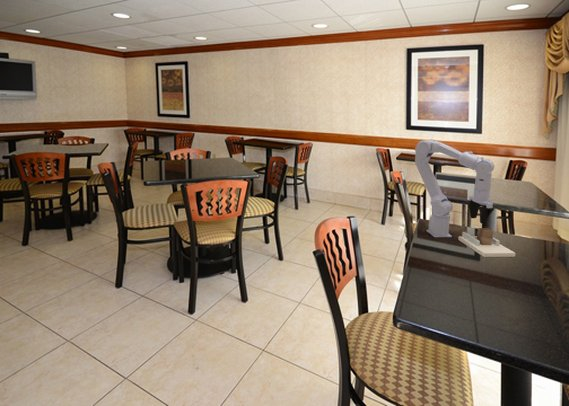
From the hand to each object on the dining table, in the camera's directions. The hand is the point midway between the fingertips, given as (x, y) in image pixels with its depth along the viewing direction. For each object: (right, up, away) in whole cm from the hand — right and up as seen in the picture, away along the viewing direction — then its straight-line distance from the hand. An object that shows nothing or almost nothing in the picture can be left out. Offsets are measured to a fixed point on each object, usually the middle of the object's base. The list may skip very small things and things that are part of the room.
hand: (478, 220), depth 149 cm
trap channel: (0, -11, -4) cm, 11 cm away
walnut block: (0, -9, -4) cm, 10 cm away
